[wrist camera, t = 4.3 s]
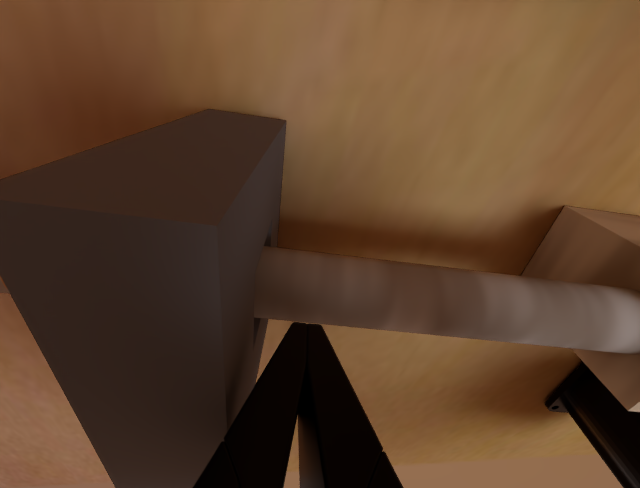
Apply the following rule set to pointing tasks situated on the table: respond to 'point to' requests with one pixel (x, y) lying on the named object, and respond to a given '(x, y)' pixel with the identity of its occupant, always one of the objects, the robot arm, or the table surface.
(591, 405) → the robot arm
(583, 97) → the table surface
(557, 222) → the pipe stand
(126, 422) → the square block with hole
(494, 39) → the table surface
